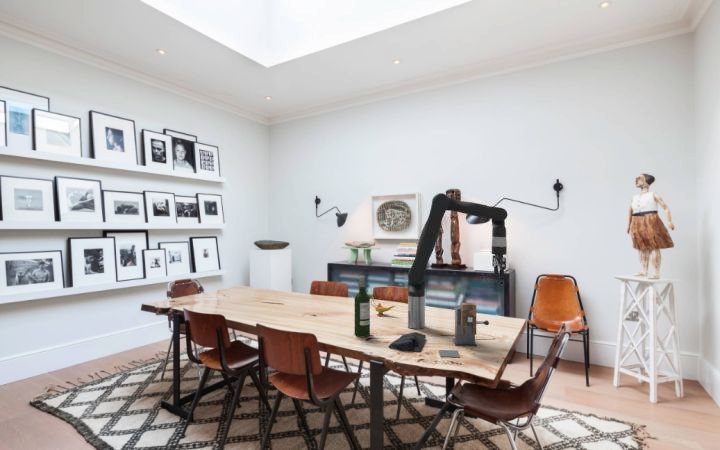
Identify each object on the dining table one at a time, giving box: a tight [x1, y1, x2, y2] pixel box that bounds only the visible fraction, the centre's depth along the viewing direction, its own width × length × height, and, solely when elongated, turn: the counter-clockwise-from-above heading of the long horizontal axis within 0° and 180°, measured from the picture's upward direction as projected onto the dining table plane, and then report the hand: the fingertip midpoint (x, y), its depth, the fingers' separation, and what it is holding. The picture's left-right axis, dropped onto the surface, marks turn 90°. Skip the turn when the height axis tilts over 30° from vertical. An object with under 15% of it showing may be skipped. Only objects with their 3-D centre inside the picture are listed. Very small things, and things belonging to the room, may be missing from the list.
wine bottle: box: [354, 275, 371, 338], centre depth 189 cm, size 8×8×30 cm
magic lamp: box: [370, 295, 396, 317], centre depth 229 cm, size 7×18×11 cm, turn 57°
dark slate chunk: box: [388, 331, 427, 353], centre depth 174 cm, size 15×22×5 cm
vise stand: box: [452, 304, 490, 347], centre depth 169 cm, size 16×19×17 cm
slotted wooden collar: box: [460, 302, 477, 336], centre depth 164 cm, size 6×4×13 cm, turn 83°
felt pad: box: [438, 349, 461, 359], centre depth 160 cm, size 8×8×1 cm
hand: (498, 275), depth 196 cm, fingers open, 8 cm apart
